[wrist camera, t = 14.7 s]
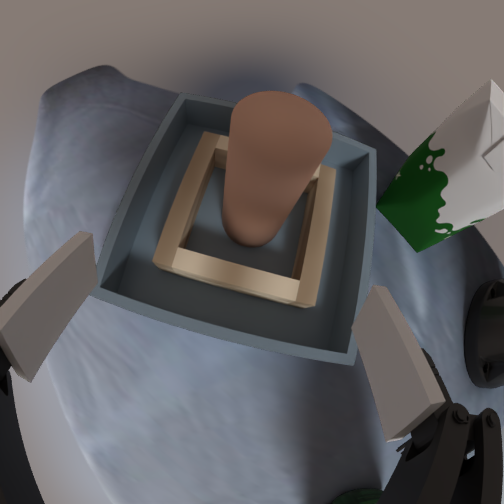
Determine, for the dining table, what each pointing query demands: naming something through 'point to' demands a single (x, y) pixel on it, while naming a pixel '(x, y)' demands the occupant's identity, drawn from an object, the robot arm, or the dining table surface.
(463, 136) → the milk carton
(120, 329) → the dining table surface
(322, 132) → the peg
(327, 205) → the socket block
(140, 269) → the bin
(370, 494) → the coffee jar
